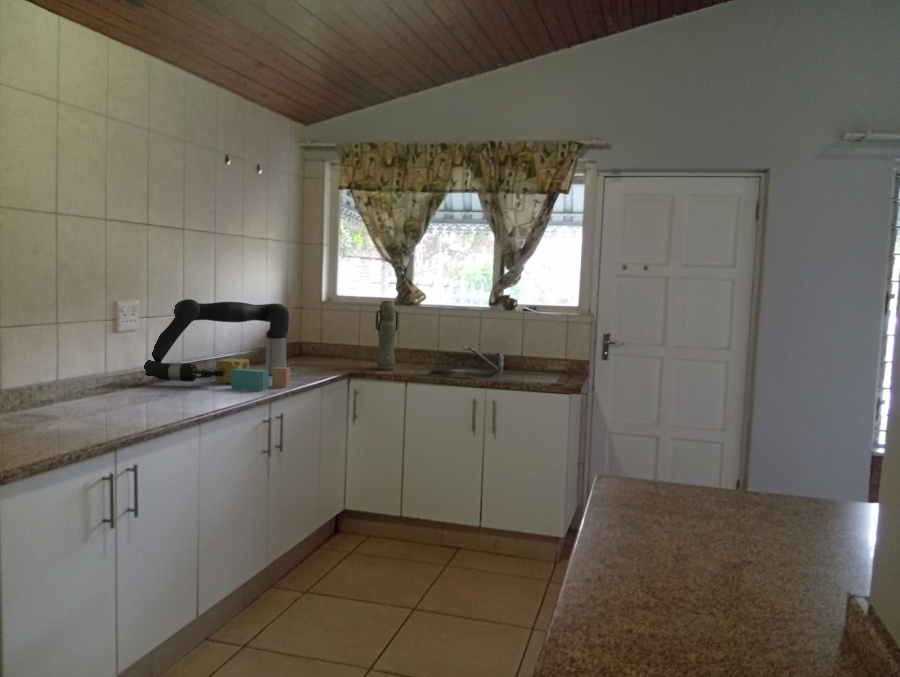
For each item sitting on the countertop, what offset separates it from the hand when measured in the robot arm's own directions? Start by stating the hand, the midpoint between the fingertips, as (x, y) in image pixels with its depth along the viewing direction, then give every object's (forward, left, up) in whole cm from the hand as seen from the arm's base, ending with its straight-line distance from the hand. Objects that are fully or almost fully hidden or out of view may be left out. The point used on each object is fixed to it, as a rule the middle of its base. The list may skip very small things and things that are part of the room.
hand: (223, 373), depth 292 cm
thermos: (-80, +55, -6) cm, 97 cm away
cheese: (-15, -2, -6) cm, 16 cm away
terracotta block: (-10, +21, -6) cm, 24 cm away
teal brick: (0, +11, -6) cm, 13 cm away
